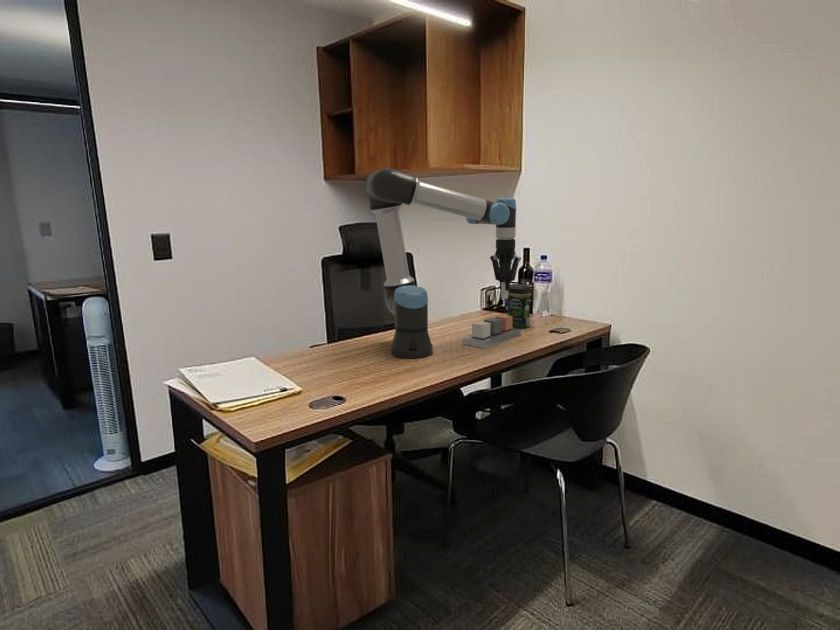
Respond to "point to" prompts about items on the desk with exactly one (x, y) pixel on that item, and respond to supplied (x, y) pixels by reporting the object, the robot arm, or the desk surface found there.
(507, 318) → the key terracotta
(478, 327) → the key ivory
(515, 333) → the panel
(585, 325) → the desk surface
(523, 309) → the coffee jar
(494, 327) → the block
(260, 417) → the desk surface
